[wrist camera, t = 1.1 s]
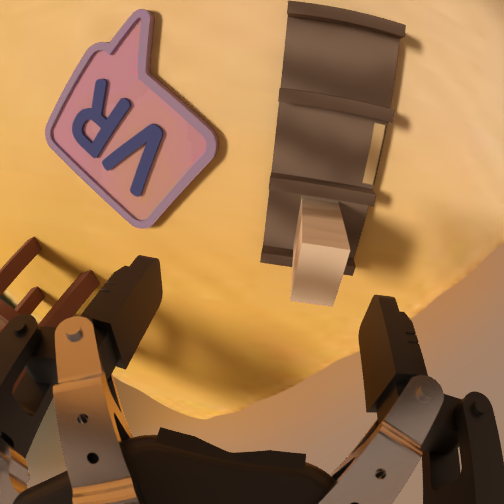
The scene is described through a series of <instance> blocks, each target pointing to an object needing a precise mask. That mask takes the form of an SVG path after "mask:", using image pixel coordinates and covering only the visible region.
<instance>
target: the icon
mask: <svg viewBox="0 0 504 504" xmlns="http://www.w3.org/2000/svg"><path fill="white" fill-rule="evenodd" d="M153 28H154V16H153V14H152V13H151V12H150V11H148V10H145V9H139V10H136V11H135V12H133V14H132V15H131V16H130V17H129V18H128V20H127V21H126V22H125V23H124V25H123V26H122V27H121V28H120V30H119V31H118V32H117V34H116V35H115V36H114V38H113V39H112V40H111V42H99V43H96V44H94V45H92V46H91V47H89V48H88V50H87V51H86V52H85V54H84V56H83V57H82V59H81V60H80V62H79V64H78V65H77V67H76V69H75V70H74V72H73V74H72V76H71V77H70V79H69V81H68V83H67V85H66V86H65V88H64V90H63V92H62V94H61V96H60V98H59V100H58V102H57V104H56V106H55V108H54V110H53V112H52V114H51V116H50V118H49V120H48V123H47V125H46V129H45V136H46V141H47V143H48V145H49V147H50V148H51V149H52V150H53V151H54V152H55V153H56V154H57V155H58V156H59V157H60V158H61V159H62V160H63V161H64V162H65V163H66V164H67V165H68V166H69V167H70V168H71V169H72V170H73V171H74V172H75V173H76V174H77V175H78V176H79V177H80V178H82V179H83V180H84V181H85V182H86V183H87V184H88V185H89V186H90V187H91V188H92V189H93V190H94V191H95V192H96V193H97V194H98V195H99V196H100V197H102V198H103V199H104V200H105V201H106V202H107V203H108V204H109V205H110V206H111V207H112V208H113V209H114V210H116V211H117V212H118V213H119V214H120V215H121V216H122V217H123V218H124V219H125V220H127V221H128V222H129V223H130V224H131V225H132V226H134V227H137V228H149V227H151V226H152V225H153V224H154V223H155V222H156V221H157V219H158V218H159V217H160V216H161V215H162V214H163V212H164V211H165V210H166V209H167V208H168V207H169V206H170V204H171V203H172V202H173V201H174V200H175V199H176V198H177V197H178V196H179V194H180V193H181V192H182V191H183V190H184V189H185V188H186V187H187V186H188V185H189V183H190V182H191V181H192V180H193V179H194V178H195V177H196V176H197V175H198V174H199V173H200V172H201V171H202V170H203V168H204V167H205V166H206V165H207V164H208V163H209V162H210V161H211V160H212V159H213V158H214V157H215V155H216V153H217V150H218V138H217V134H216V133H215V131H214V129H213V128H212V127H211V126H209V125H208V124H207V123H206V122H205V121H204V120H203V119H202V118H201V117H200V116H199V115H197V114H196V113H195V112H194V111H193V110H192V109H191V108H190V107H188V106H187V105H186V104H185V103H184V102H183V101H182V100H181V99H179V98H178V97H177V96H176V95H175V94H174V93H173V92H171V91H170V90H169V89H168V88H167V87H166V86H164V85H163V84H162V83H161V82H160V81H159V80H157V79H156V78H155V77H154V76H153V75H152V74H151V73H150V60H151V48H152V37H153Z"/></svg>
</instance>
